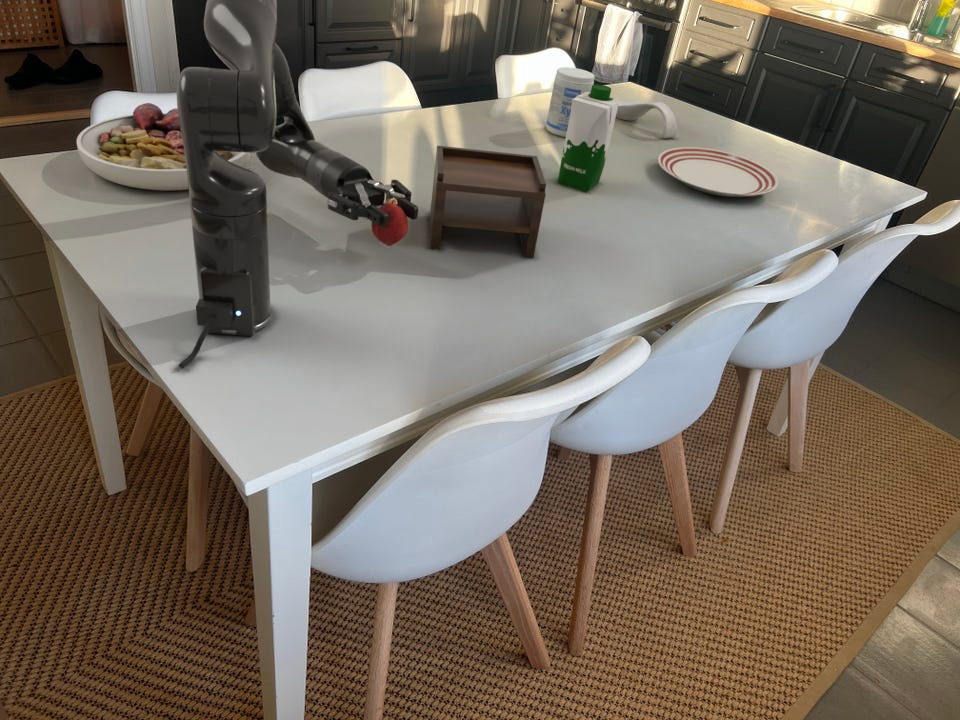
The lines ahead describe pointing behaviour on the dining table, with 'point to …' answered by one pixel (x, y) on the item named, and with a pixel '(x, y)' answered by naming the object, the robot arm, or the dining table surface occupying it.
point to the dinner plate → (718, 172)
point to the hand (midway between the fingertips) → (401, 217)
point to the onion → (392, 224)
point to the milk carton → (588, 138)
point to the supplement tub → (566, 97)
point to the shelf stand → (487, 193)
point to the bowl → (141, 150)
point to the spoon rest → (637, 109)
